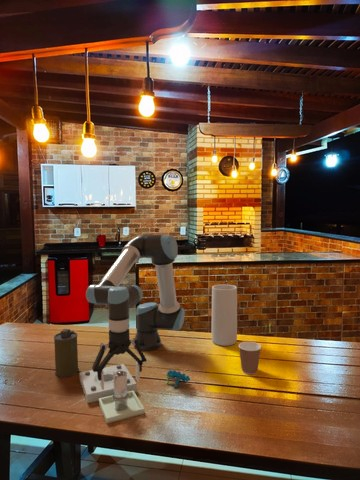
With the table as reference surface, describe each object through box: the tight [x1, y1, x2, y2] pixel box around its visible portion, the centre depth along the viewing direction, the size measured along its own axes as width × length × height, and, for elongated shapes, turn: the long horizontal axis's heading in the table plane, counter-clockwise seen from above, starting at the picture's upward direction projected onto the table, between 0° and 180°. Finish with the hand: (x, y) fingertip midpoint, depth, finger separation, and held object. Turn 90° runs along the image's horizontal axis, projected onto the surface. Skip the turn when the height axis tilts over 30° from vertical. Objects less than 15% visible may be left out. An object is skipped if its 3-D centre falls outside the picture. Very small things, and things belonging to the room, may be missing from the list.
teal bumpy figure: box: [165, 369, 191, 389], centre depth 146 cm, size 11×6×10 cm
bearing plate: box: [79, 363, 138, 404], centre depth 146 cm, size 20×20×4 cm
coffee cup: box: [238, 341, 262, 375], centre depth 158 cm, size 10×10×12 cm
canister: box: [53, 328, 80, 378], centre depth 158 cm, size 11×10×20 cm
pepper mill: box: [113, 371, 129, 411], centre depth 129 cm, size 6×6×14 cm
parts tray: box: [98, 391, 145, 425], centre depth 129 cm, size 14×14×2 cm
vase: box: [210, 283, 238, 347], centre depth 192 cm, size 14×14×32 cm
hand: (120, 384), depth 128 cm, fingers open, 13 cm apart
